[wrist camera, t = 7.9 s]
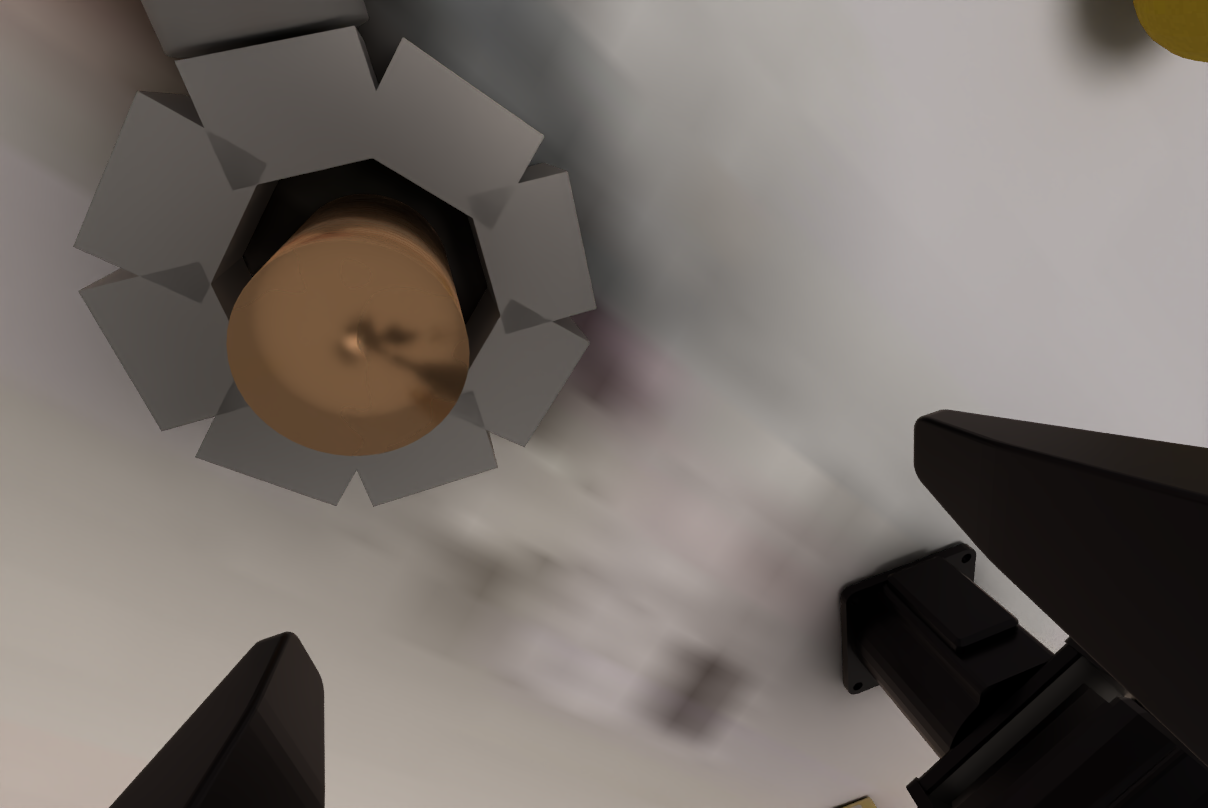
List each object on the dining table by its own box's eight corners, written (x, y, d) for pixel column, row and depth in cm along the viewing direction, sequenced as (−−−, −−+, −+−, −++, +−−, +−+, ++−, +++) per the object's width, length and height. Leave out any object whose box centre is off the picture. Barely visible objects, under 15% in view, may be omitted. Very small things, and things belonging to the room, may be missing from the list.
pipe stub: (466, 319, 19) (494, 419, 13) (328, 357, 18) (286, 482, 12) (422, 177, 17) (430, 214, 11) (266, 214, 16) (180, 276, 10)
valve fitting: (594, 388, 21) (661, 486, 15) (257, 490, 19) (195, 641, 14) (430, -338, 13) (445, -661, 8) (-156, -273, 11) (-674, -625, 6)
